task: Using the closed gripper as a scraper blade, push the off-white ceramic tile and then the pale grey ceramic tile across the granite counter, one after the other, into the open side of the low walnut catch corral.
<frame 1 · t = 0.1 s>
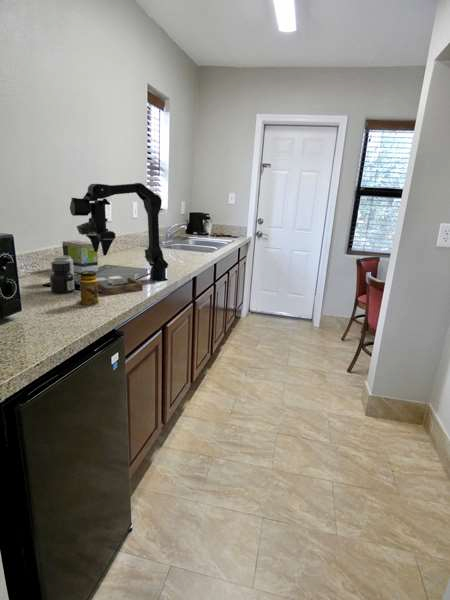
hand: (100, 253, 148), 15 cm above the worktop, fingers open, 9 cm apart
ink bottle: (63, 291, 143), on the worktop
condiment: (87, 304, 129), on the worktop
tile a: (116, 283, 159), on the worktop
tile b: (100, 285, 155), on the worktop
can: (65, 283, 155), on the worktop
corral: (118, 289, 150), on the worktop
tea box: (81, 270, 180), on the worktop
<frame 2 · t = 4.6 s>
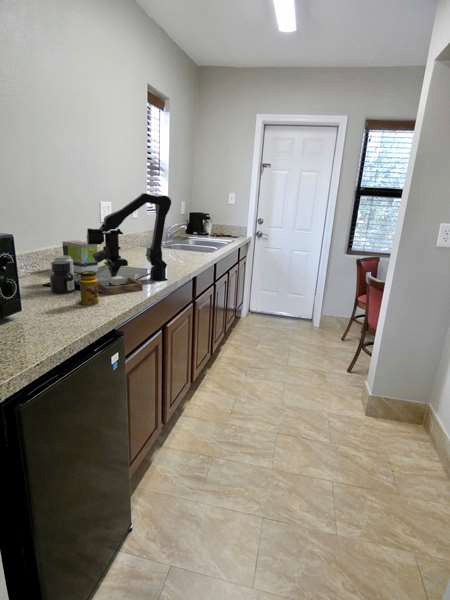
hand: (113, 278, 160), 2 cm above the worktop, fingers closed
tile a: (117, 284, 159), on the worktop, touching gripper
everything else where it was.
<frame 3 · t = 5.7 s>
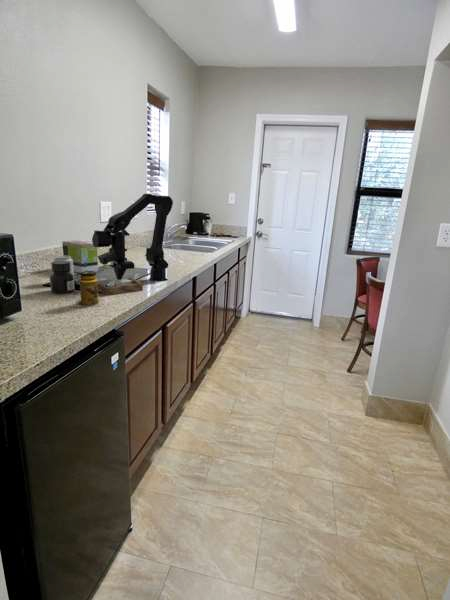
hand: (119, 281, 156), 2 cm above the worktop, fingers closed
tile a: (124, 287, 155), on the worktop, touching gripper
everything else where it was.
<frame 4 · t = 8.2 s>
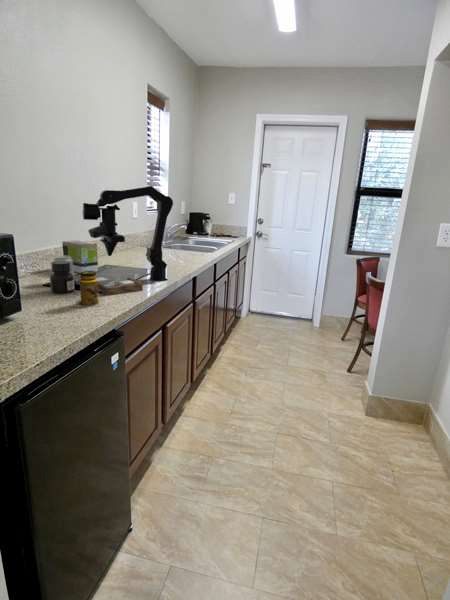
hand: (109, 255, 157), 12 cm above the worktop, fingers closed
tile a: (127, 288, 153), on the worktop
everything else where it was.
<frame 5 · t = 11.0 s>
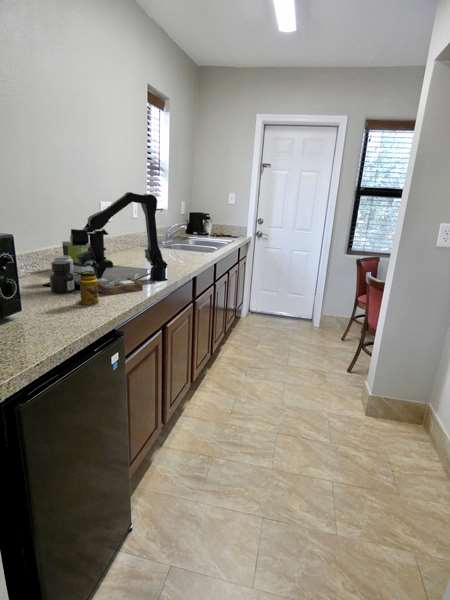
hand: (98, 280, 156), 2 cm above the worktop, fingers closed
tile b: (100, 286, 153), on the worktop, touching gripper
everything else where it was.
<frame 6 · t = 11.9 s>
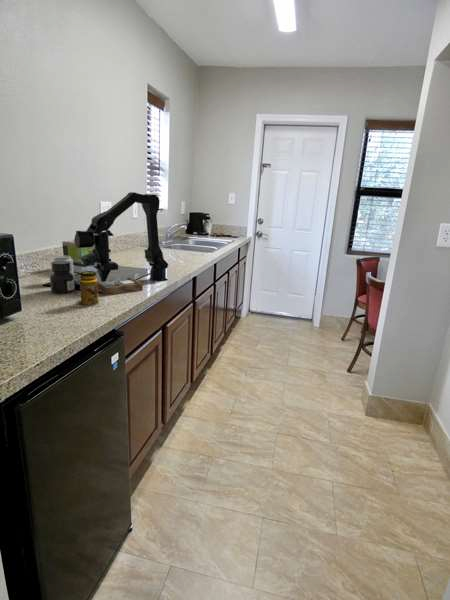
hand: (103, 282, 152), 2 cm above the worktop, fingers closed
tile b: (104, 289, 150), on the worktop
everything else where it was.
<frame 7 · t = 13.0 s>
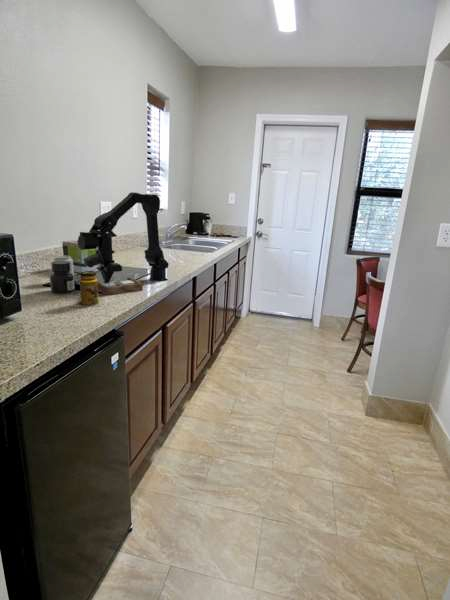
hand: (106, 284, 150), 2 cm above the worktop, fingers closed
tile b: (108, 291, 147), on the worktop
everything else where it was.
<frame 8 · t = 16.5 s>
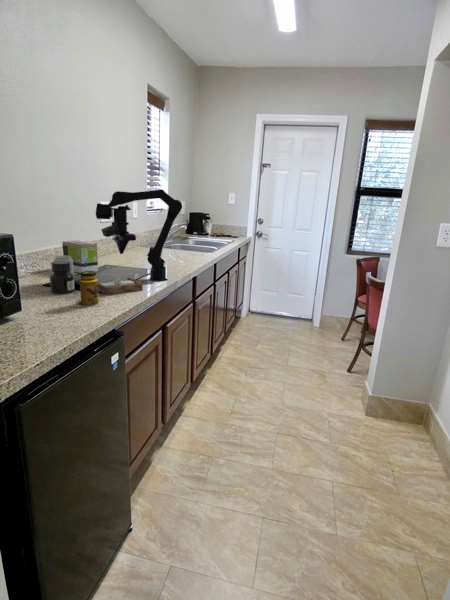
hand: (121, 253, 165), 12 cm above the worktop, fingers closed
nothing on the worktop moved.
at the end: tile a inside the target area on the corral (0.7 cm from its centre), point 0.0 cm above the corral's base; tile b inside the target area on the corral (0.7 cm from its centre), point 0.0 cm above the corral's base; tile a moved 9.8 cm from its start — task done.
